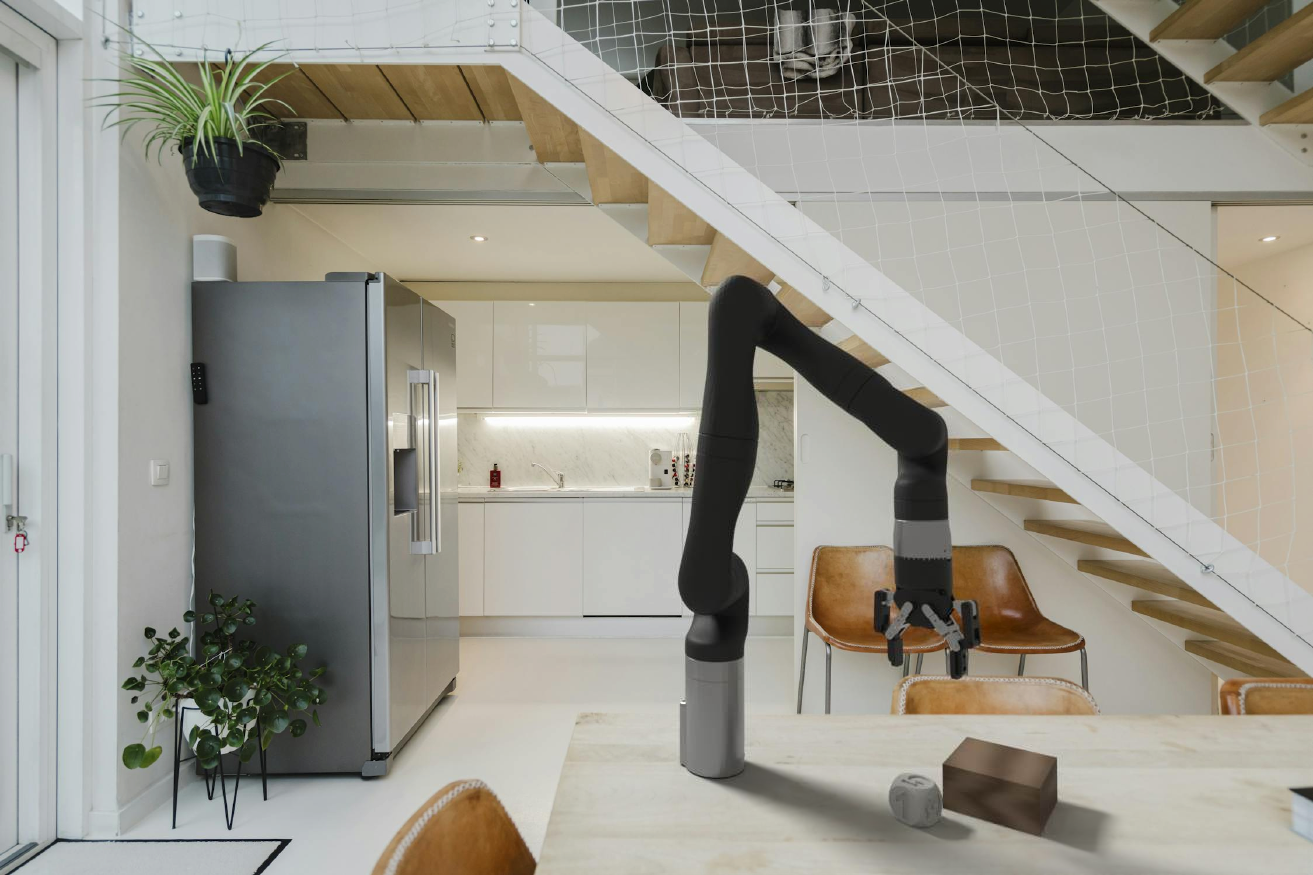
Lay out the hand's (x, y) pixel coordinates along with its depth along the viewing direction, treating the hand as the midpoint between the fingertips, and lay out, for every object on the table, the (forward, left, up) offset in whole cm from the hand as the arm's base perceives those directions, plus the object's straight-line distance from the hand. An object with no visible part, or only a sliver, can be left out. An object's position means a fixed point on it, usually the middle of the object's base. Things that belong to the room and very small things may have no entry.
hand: (926, 671), depth 99 cm
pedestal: (+7, +8, -19) cm, 22 cm away
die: (-1, -3, -19) cm, 19 cm away
